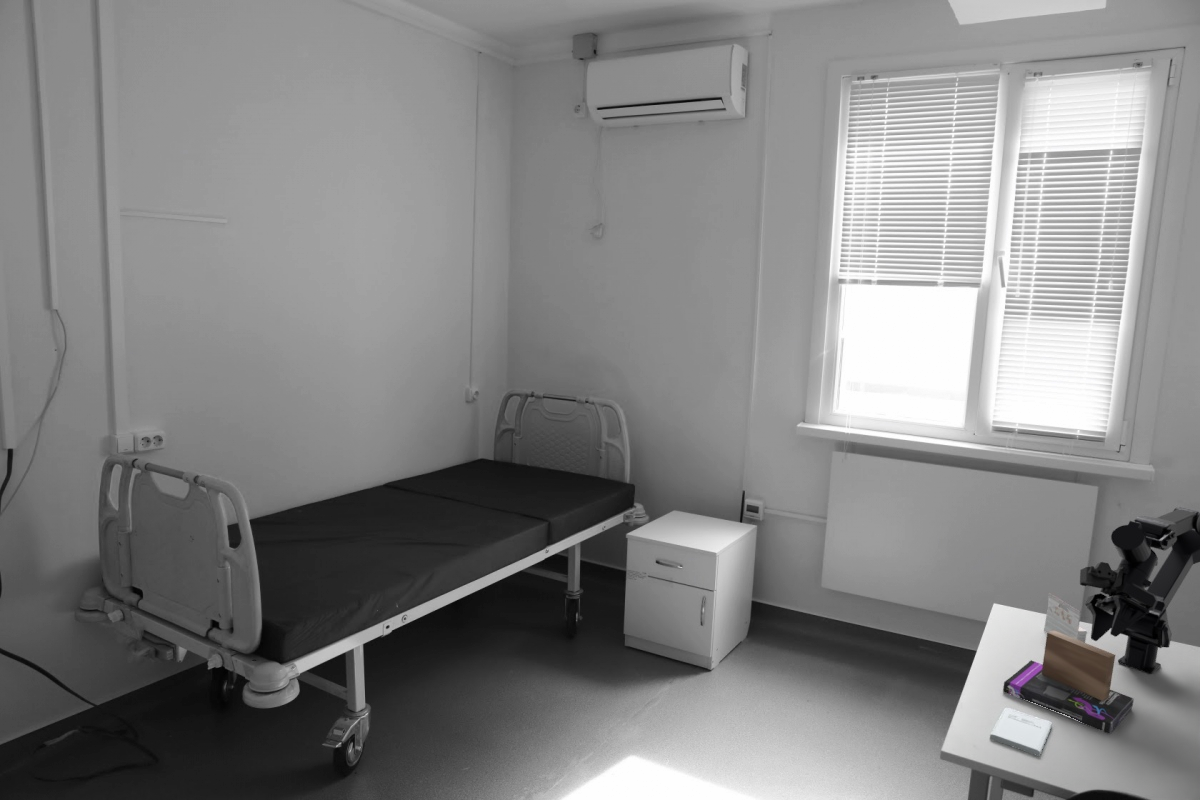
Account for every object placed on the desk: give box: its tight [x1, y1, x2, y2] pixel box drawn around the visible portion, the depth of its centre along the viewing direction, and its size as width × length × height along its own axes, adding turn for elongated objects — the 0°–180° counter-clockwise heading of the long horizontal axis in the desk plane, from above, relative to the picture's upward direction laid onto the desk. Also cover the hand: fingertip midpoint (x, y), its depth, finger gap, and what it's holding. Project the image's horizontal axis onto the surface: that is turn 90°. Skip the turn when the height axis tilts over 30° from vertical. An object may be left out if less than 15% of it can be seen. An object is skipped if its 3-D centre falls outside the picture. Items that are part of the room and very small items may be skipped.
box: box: [1002, 659, 1134, 735], centre depth 163 cm, size 14×4×20 cm
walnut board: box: [1042, 630, 1116, 701], centre depth 164 cm, size 2×12×9 cm, turn 32°
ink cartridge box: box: [1043, 592, 1088, 643], centre depth 190 cm, size 2×11×10 cm, turn 7°
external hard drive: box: [989, 707, 1053, 757], centre depth 151 cm, size 2×8×12 cm
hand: (1103, 637), depth 166 cm, fingers open, 9 cm apart
